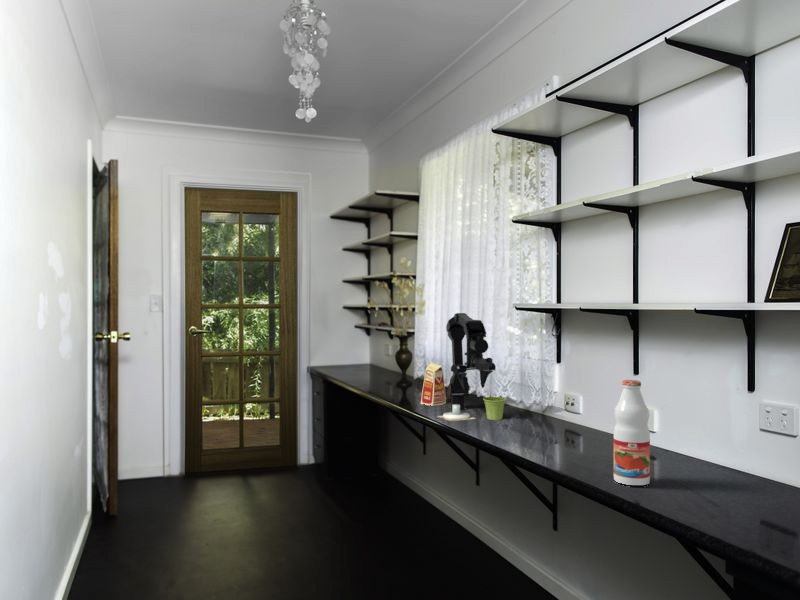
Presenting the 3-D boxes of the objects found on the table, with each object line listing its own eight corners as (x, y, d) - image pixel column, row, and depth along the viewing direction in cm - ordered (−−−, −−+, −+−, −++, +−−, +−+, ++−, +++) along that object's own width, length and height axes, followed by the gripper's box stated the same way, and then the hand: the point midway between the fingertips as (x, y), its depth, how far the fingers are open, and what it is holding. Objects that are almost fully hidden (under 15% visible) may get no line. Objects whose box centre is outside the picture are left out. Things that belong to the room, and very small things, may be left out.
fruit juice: (650, 479, 177) (650, 379, 176) (649, 489, 168) (649, 384, 168) (614, 476, 180) (614, 378, 180) (612, 485, 172) (612, 382, 172)
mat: (436, 417, 266) (436, 416, 266) (461, 414, 272) (461, 413, 272) (451, 422, 256) (451, 421, 256) (476, 419, 261) (476, 418, 261)
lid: (438, 416, 266) (438, 403, 266) (460, 413, 271) (460, 401, 271) (451, 420, 256) (451, 408, 256) (474, 418, 261) (474, 405, 261)
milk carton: (420, 404, 299) (420, 361, 299) (434, 401, 306) (433, 360, 305) (434, 406, 293) (434, 363, 292) (448, 404, 299) (447, 361, 299)
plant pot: (507, 422, 257) (507, 400, 256) (484, 422, 257) (484, 400, 257) (504, 417, 266) (504, 396, 266) (482, 417, 266) (481, 396, 266)
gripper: (465, 353, 249) (465, 393, 250) (503, 351, 258) (503, 389, 259) (450, 351, 259) (450, 389, 260) (487, 348, 268) (487, 385, 268)
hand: (473, 388), depth 261 cm, fingers open, 9 cm apart
